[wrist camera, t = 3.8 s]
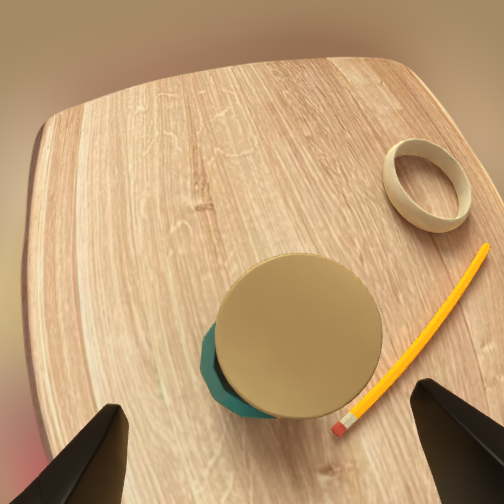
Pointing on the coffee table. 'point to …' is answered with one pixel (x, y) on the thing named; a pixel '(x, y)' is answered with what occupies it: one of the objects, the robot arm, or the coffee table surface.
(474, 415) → the robot arm
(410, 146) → the ring
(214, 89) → the coffee table surface
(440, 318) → the pencil
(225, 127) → the coffee table surface
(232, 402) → the pot
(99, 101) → the coffee table surface
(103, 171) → the coffee table surface
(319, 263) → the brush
